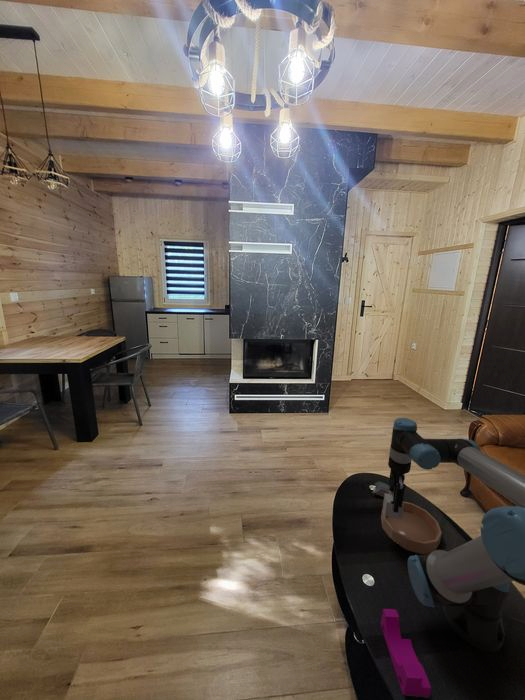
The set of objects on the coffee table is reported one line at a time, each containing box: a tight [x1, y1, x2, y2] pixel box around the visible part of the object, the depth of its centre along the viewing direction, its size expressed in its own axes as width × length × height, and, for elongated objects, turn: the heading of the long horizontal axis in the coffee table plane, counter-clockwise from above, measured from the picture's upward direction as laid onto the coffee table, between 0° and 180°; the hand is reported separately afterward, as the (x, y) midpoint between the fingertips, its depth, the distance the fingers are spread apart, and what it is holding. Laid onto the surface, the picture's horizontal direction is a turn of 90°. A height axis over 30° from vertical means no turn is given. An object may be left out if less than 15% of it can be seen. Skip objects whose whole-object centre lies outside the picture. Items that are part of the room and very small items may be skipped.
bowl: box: [380, 500, 443, 555], centre depth 119 cm, size 22×22×5 cm
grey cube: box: [382, 493, 404, 519], centre depth 109 cm, size 5×6×6 cm
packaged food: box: [371, 481, 390, 498], centre depth 138 cm, size 9×12×5 cm
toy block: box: [380, 608, 432, 698], centre depth 76 cm, size 15×6×8 cm, turn 178°
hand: (392, 511), depth 110 cm, fingers closed on grey cube, 5 cm apart
